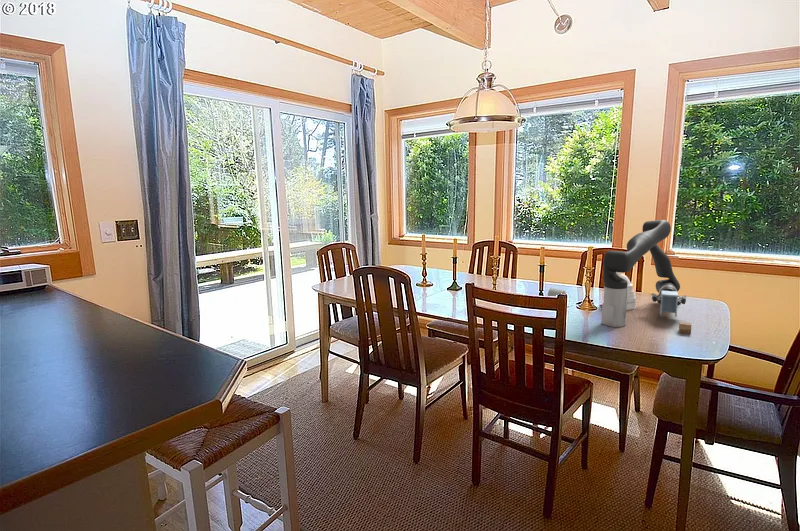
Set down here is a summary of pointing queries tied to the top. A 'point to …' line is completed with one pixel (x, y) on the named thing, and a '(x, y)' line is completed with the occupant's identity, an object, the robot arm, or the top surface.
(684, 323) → the cube
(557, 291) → the ceramic mug
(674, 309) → the tall pale blue box
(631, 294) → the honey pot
